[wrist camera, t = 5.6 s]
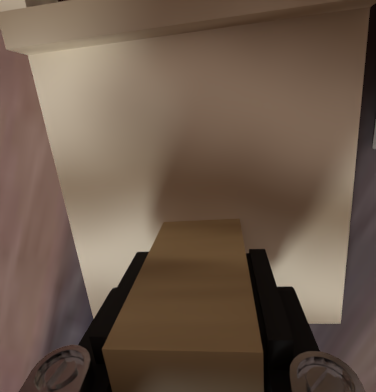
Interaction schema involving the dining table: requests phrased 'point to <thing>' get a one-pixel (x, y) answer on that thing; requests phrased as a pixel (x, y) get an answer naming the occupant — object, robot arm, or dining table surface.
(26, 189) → the dining table surface
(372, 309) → the dining table surface
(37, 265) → the dining table surface
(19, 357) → the dining table surface
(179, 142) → the beige frame tray
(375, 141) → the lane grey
